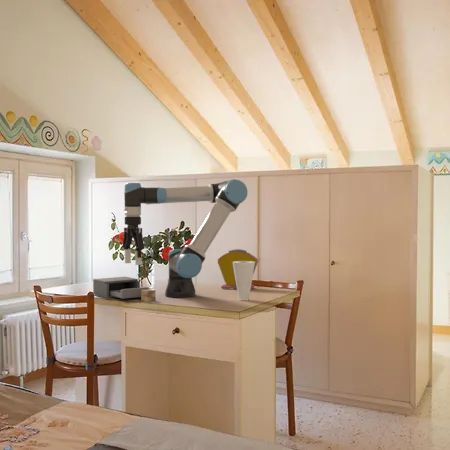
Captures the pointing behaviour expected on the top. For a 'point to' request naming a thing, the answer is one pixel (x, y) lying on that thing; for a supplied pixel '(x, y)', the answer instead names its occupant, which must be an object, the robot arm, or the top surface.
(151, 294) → the pedestal
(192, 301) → the top surface
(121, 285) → the housing
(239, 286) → the cup
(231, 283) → the yellow arched part
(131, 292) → the tray
